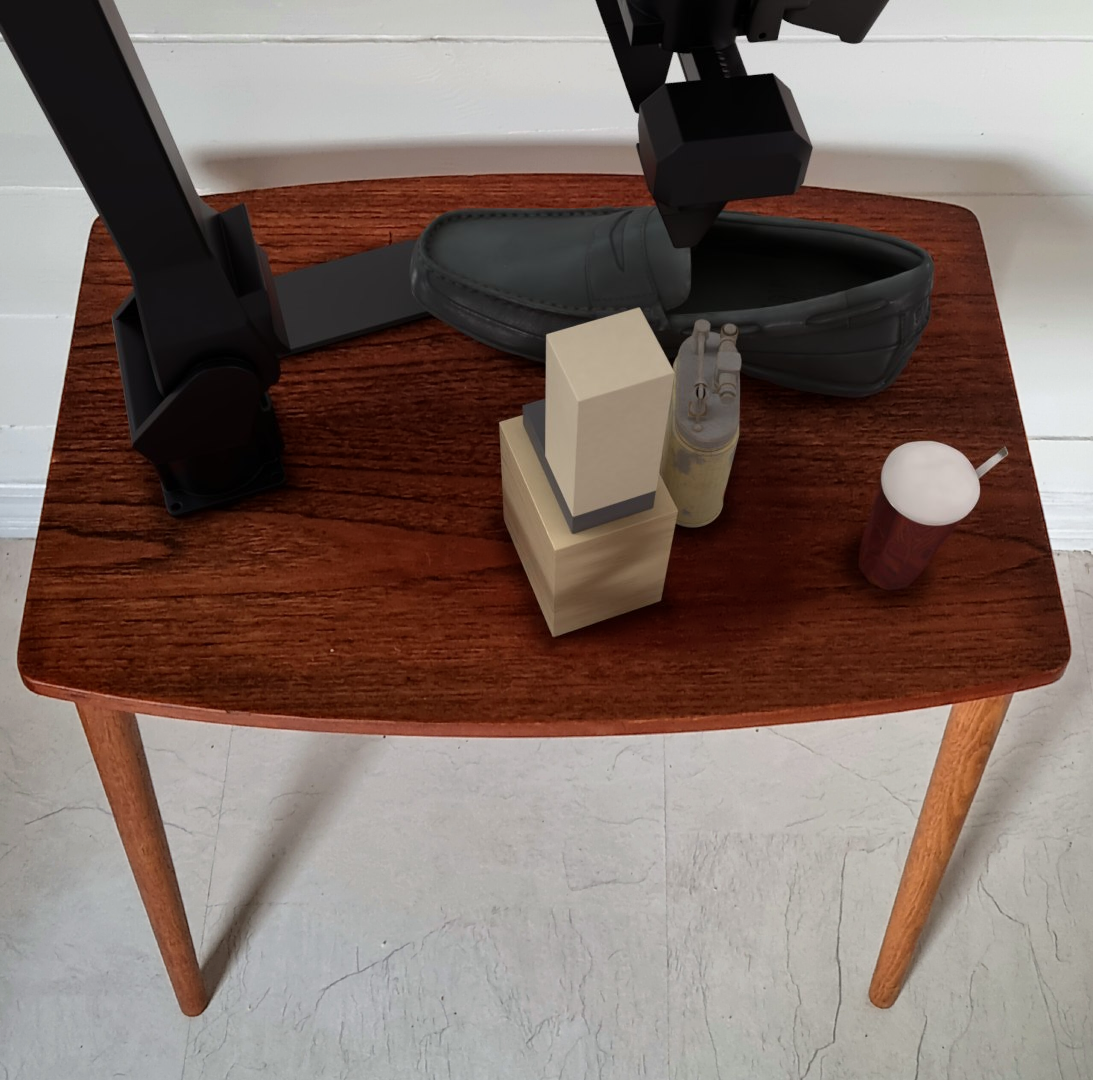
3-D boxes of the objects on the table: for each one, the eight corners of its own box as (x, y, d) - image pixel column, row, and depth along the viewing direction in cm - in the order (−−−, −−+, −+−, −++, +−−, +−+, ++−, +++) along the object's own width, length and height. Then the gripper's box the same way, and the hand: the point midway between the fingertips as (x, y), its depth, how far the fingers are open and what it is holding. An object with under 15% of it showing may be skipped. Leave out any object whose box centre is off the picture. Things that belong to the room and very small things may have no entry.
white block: (571, 534, 55) (578, 401, 46) (522, 423, 58) (519, 279, 49) (653, 508, 55) (675, 372, 47) (600, 400, 58) (611, 253, 50)
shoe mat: (246, 367, 71) (245, 362, 70) (224, 295, 73) (222, 289, 73) (444, 312, 73) (443, 306, 72) (414, 244, 75) (414, 238, 75)
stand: (552, 637, 62) (555, 550, 54) (503, 519, 66) (498, 421, 58) (661, 601, 63) (678, 510, 55) (606, 486, 67) (616, 386, 59)
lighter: (722, 531, 65) (750, 422, 57) (651, 526, 65) (668, 417, 57) (722, 423, 69) (749, 304, 60) (655, 418, 69) (672, 300, 60)
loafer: (427, 245, 75) (413, 112, 67) (900, 281, 74) (948, 150, 65) (402, 378, 70) (382, 253, 61) (909, 418, 69) (963, 297, 60)
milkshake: (958, 593, 63) (1024, 491, 55) (858, 607, 63) (909, 507, 54) (931, 519, 66) (990, 410, 57) (834, 532, 65) (880, 424, 57)
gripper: (996, -3, 42) (880, 303, 55) (843, -286, 51) (776, 35, 64) (678, 26, 41) (639, 331, 54) (581, -268, 50) (568, 55, 63)
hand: (664, 175), depth 59 cm, fingers open, 9 cm apart
